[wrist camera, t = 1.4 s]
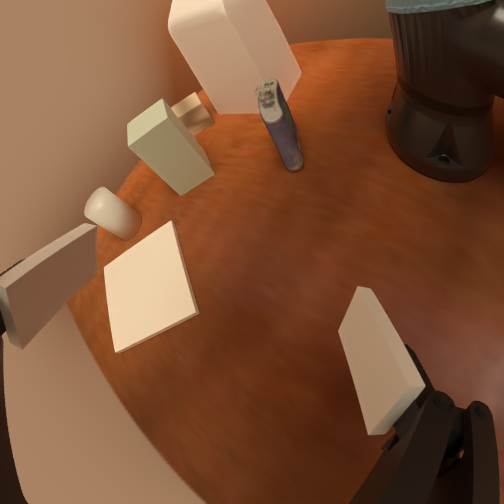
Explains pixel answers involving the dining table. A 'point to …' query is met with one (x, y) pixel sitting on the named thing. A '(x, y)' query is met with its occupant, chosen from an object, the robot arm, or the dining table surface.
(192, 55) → the milk
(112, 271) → the white tile
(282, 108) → the flask
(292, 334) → the dining table surface
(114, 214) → the white cylinder
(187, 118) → the maple cube
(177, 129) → the sage block
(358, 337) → the robot arm
